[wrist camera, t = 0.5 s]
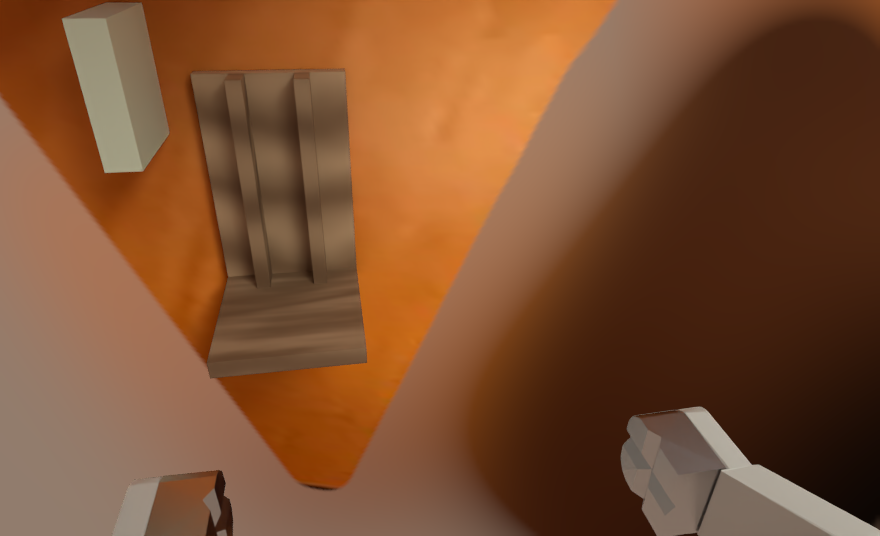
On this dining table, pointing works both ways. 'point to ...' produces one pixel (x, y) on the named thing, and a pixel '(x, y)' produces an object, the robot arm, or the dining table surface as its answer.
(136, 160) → the door panel
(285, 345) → the track board
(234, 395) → the dining table surface
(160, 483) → the robot arm
